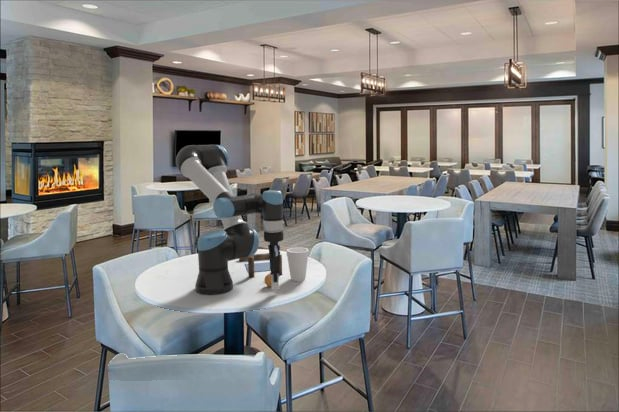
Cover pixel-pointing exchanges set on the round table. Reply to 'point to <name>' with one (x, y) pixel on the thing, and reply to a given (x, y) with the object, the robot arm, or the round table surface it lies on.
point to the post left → (251, 266)
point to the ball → (268, 280)
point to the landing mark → (260, 267)
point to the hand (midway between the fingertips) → (275, 289)
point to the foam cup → (297, 263)
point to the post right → (280, 265)
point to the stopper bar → (256, 257)
